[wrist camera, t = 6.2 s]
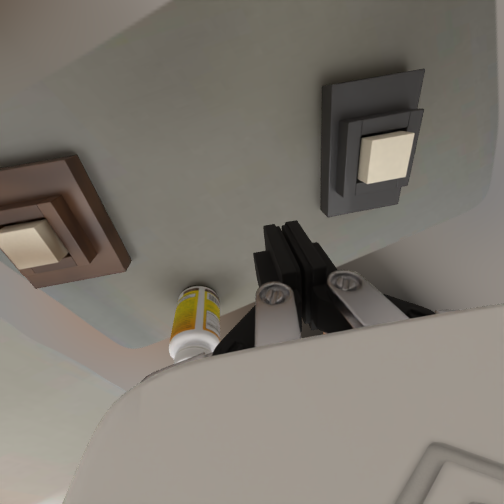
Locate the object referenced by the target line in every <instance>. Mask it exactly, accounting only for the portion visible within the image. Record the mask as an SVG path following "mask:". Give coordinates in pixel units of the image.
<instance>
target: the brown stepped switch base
mask: <svg viewBox="0 0 504 504" xmlns="http://www.w3.org/2000/svg"><path fill="white" fill-rule="evenodd" d="M43 219H46V220H47V221H48V222H49V224H50V225H51V227H52V228H53V230H54V231H55V233H56V234H57V236H58V237H59V239H60V240H61V242H62V243H63V245H64V246H65V248H66V249H67V250H68V254H67V255H66V256H65V257H64V258H63V259H62V260H61V261H60V262H58V263H52V264H47V265H42V266H36V267H31V268H26V269H20V270H19V269H18V268H17V267H16V268H17V269H18V270H19V271H20V272H21V273H22V275H23V276H25V277H26V278H27V279H28V280H29V282H30V283H31V284H32V285H33V286H34V287H35V288H36V289H37V288H42V287H47V286H52V285H58V284H63V283H68V282H73V281H79V280H84V279H89V278H95V277H100V276H105V275H110V274H116V273H121V272H126V270H127V268H128V266H129V265H130V263H131V261H132V260H131V259H130V257H129V255H128V253H127V251H126V249H125V247H124V245H123V243H122V241H121V239H120V237H119V235H118V233H117V231H116V229H115V228H114V226H113V224H112V222H111V220H110V218H109V216H108V214H107V212H106V210H105V208H104V206H103V204H102V202H101V200H100V198H99V196H98V195H97V193H96V191H95V189H94V187H93V185H92V183H91V181H90V179H89V177H88V175H87V173H86V171H85V169H84V167H83V165H82V164H81V162H80V160H79V158H78V156H77V155H74V156H68V157H62V158H57V159H51V160H45V161H40V162H34V163H28V164H22V165H17V166H11V167H5V168H0V229H2V228H3V227H5V226H10V225H15V224H21V223H26V222H32V221H37V220H43ZM0 249H1V248H0ZM1 250H2V249H1ZM2 251H3V250H2ZM3 252H4V251H3ZM4 254H5V253H4ZM5 255H6V254H5ZM6 256H7V255H6ZM7 257H8V256H7ZM8 258H9V257H8ZM9 259H10V258H9ZM10 261H11V260H10ZM11 262H12V261H11ZM12 263H13V262H12ZM13 264H14V263H13ZM14 265H15V264H14ZM15 266H16V265H15Z"/></svg>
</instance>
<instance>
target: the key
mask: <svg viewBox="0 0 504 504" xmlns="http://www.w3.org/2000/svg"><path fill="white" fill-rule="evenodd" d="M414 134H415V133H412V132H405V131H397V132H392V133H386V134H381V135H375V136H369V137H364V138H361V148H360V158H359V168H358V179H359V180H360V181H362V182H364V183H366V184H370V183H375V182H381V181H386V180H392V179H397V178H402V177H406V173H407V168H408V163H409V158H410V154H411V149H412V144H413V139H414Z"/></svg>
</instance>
